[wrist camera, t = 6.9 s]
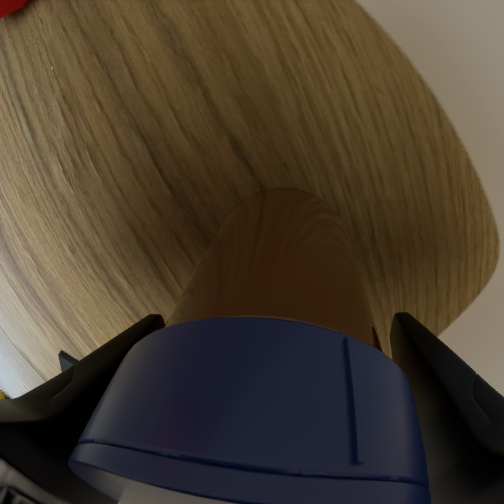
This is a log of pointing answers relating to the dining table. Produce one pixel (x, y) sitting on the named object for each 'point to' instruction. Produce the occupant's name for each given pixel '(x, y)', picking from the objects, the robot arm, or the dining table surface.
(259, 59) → the dining table surface
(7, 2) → the apple
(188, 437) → the jar lid
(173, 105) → the dining table surface
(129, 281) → the dining table surface
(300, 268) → the jam jar
